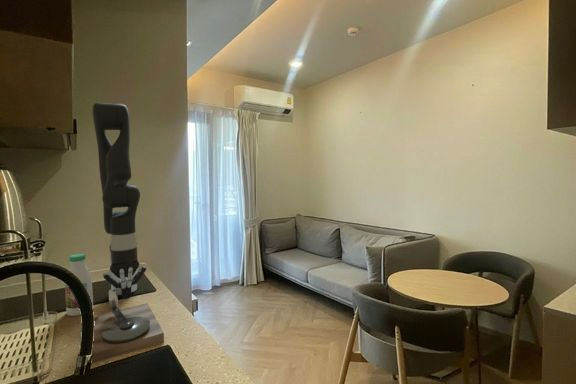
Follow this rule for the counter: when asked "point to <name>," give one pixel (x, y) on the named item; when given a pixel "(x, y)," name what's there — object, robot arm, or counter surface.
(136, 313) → the stand
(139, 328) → the gray disc with handle
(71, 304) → the milk bottle
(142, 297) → the counter surface
